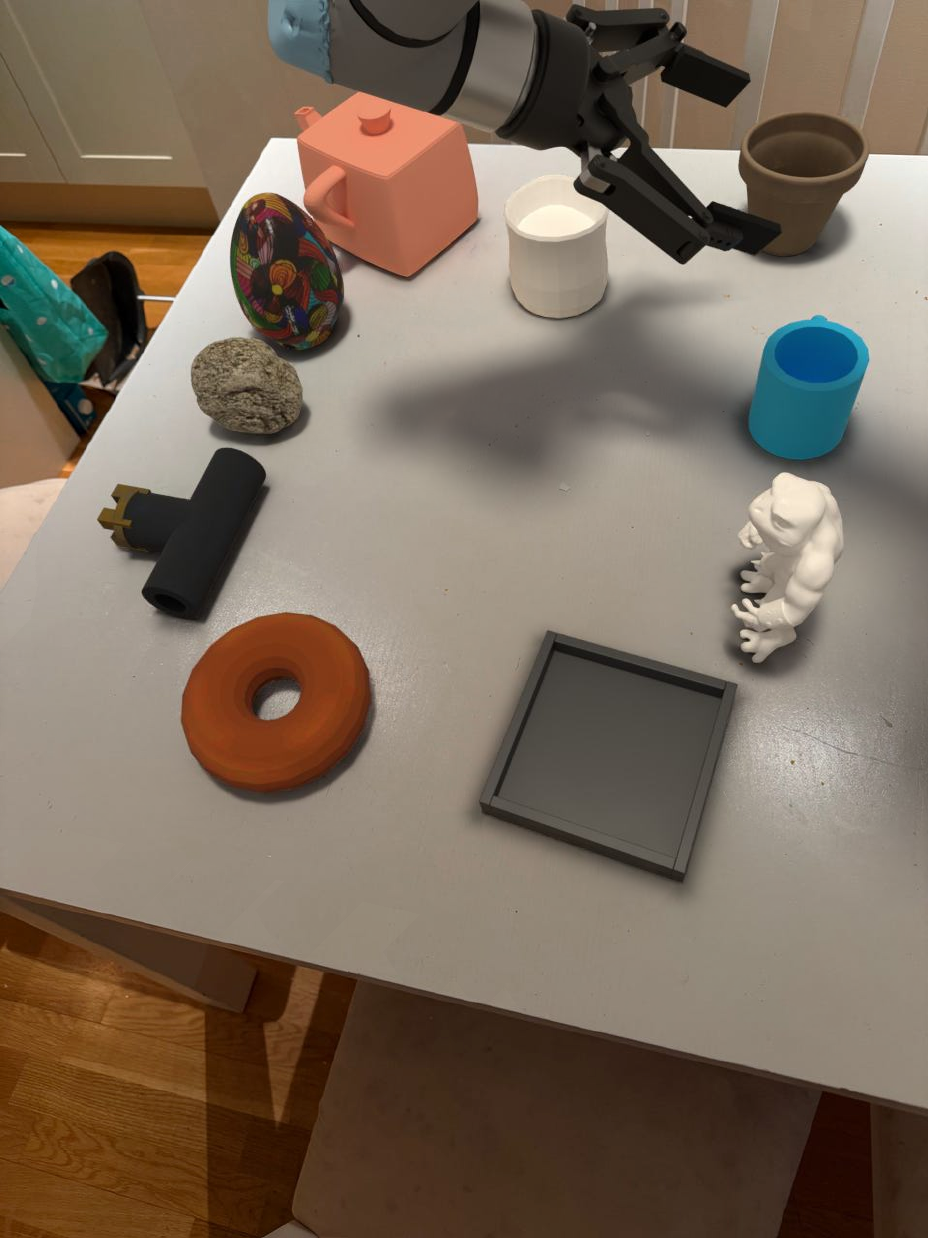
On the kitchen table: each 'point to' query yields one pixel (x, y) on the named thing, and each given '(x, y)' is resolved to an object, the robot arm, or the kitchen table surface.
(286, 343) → the egg
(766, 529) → the figurine
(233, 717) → the donut
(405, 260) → the teapot
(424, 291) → the kitchen table surface
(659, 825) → the tray
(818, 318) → the mug
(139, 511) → the pipe connector
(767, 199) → the flower pot
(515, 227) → the cup
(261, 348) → the stone
